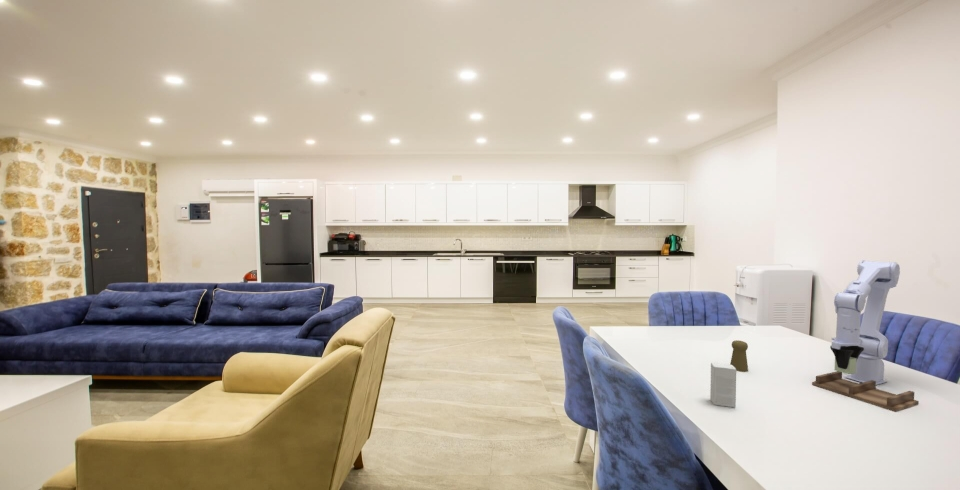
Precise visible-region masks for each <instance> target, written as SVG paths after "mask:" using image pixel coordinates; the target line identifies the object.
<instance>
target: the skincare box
mask: <svg viewBox="0 0 960 490" xmlns="http://www.w3.org/2000/svg"><path fill="white" fill-rule="evenodd" d="M709 391H710V395H709V396H710V398H709V399H710V402H711V404H712V405H713V406H720V407H721V406H722V407H727V408H728V407H729V408H736V406H737V404H736V400H737V371H736V368H735V367H734V366H733V365H730V364H728V363H727V364H726V363H718V362H710V390H709Z"/></svg>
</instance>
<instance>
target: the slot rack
mask: <svg viewBox="0 0 960 490" xmlns="http://www.w3.org/2000/svg"><path fill="white" fill-rule="evenodd" d="M811 385H812V386H815V387H817V388H820V389H824V390H827V391H830V392H833V393H836V394H840V395H842V396H845V397H849V398H852V399H855V400H858V401H861V402H863V403H867V404H870V405H874V406H877V407H880V408H883V409H886V410H888V409H889V411H891V410H892V411H891V412H894V413H897V412H899V411H903V410H905V409H909V408H911V407H914V406H918V405H919V404H920V403H919V400H916V399H915V391H912V390H908V391H904V392H901V393H897V394H895V393H892V392H889V391H885V390H882V389H878V388H877V385H876V381H873V380H871V381H867V382H863V383H862V382H859V383H858V382H854V381H853V380H852V381H851V380H849V379H848V380H847V379H846V378H845V379H844V378H843V372H839V371H833V372H828V373H824V374H819V375H816V376H815V381H812V383H811Z"/></svg>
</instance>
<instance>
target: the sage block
mask: <svg viewBox="0 0 960 490" xmlns="http://www.w3.org/2000/svg"><path fill="white" fill-rule="evenodd" d="M833 371H834V372H836V371H839V372H842V374H846V375H851V374H853V373H856V358H853V357H850V359H849V363H848V367H847V369H842V368H839V367H838V365H837V362H836V358H835V357H834V369H833Z"/></svg>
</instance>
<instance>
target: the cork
mask: <svg viewBox="0 0 960 490" xmlns="http://www.w3.org/2000/svg"><path fill="white" fill-rule="evenodd" d="M748 347H749V346H748V343H747V342H746V341H742V340H733V341H732V342H731V348H732V352H731V353H732V354H731V357H730V364H729V365H733V366H734V367H735V368H736V372H741V373H748V372H749V366H748V359H747V358H748V356H747V350H748Z"/></svg>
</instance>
